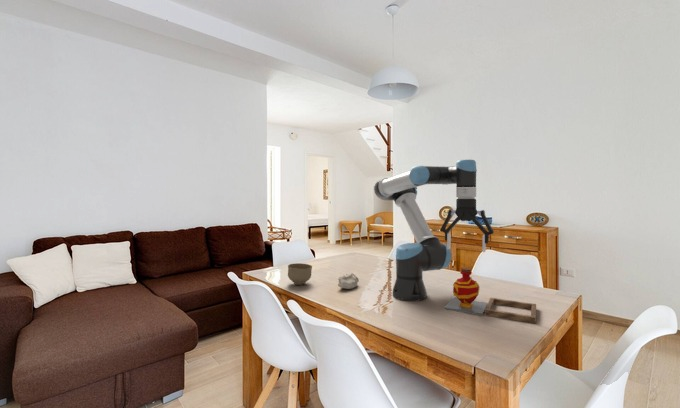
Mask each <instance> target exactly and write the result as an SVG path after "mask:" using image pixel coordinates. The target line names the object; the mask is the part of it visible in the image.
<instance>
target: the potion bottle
mask: <svg viewBox="0 0 680 408" xmlns="http://www.w3.org/2000/svg"><path fill="white" fill-rule="evenodd" d="M460 270H461V271H460V272H459V273H460V274H461V275H462V277H460V278H457V279H456V280H455V282H454V283H453V284H452V286H453V288H452V289H453V290H452V293H453V296H454V297H455V298H457V299H458V300H460V301H461V303H460V304H459V305H460V306H462V307H472V306H473V305H472V302H473V301H476V298H478V296H479V292H480V289H481V288H480V285H479V283H478V282H477V280H474V279H472V276H471V275H472V274H473V272H472V268H470V267H461V268H460Z"/></svg>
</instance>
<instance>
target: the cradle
mask: <svg viewBox="0 0 680 408" xmlns="http://www.w3.org/2000/svg"><path fill="white" fill-rule="evenodd" d="M487 303H488V304H487V306H486V308H485V311H484V315H485V316H490V317H494V318H500V319H506V320H513V321H517V322H518V321H519V322H523V323H524V322H525V323H531V324H536V321H537V320H536V319H537V304H536V303H531V302H524V301H519V300H518V301H517V300H510V299H504V298H496V297H489V301H488V302H487ZM494 305H500V306H506V307H513V308H518V309H526V310H530V315H528V314H522V313H517V312H511V311H509V312H508V311H503V310H496V309H493V308H494Z"/></svg>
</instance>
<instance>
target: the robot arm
mask: <svg viewBox="0 0 680 408" xmlns="http://www.w3.org/2000/svg"><path fill="white" fill-rule="evenodd" d="M455 184H456V186H455V187H456V191H455V192H456V193H455V195H456V198H457V199H456V205H455V206H456V208H455V210H454V209H449V210H448V211H447V216H446V218H445V219H444V222H443V223H442V225H441V228H440V232H441V233H442V232H443V233H444V241H446V243H447V244H445V243H444V242H443V243H442V242H441V241H440V238H439V237H437V236H435V235H434V234H433V232H432V229H431V228H430V227H429V224H428V223H427V220H426V218H425V216H424V215H423V213H422V211H421V208H420V207H419V205H418V203H417V201H416V200H417V195H418V190H417V189H418V187H421V186H425V185H455ZM373 190H374V194H375V196H376V197H377V198H379V199H380V200H383V201H394V204H395V205H396V207H398V208H400V210H401V212H402V214H403V216H404V219H405V221H406V222H407V225H408V226H409V229H410V231H411V234H412V235H413V237H414V240H415V241H416V242H408V243H403V244H400V245H398V246H397V248H396V250H395V269H396V270H395V271H396V275H395V276H396V278H395V282H394V285H393V288H392V296H393V298H395V299H398V300H401V301H408V302H414V301H415V302H417V301H422V300H425V299H427V294H428V292H427V289H426V286H425V283H424V279H423V272H429V271H441V270H443V269H447V268H448V267H449V265H451V261H452V251H451V248H452V243H451V242H452V240H451V239H452V238H451V237H452V236H451V235H452V233H451V230H452V229H453V228H454V227H455V226H456V225H457V224H458V223H459V221H461V222H465V221H466V222H471V221H472V223H474V224H475V225H476V227H477V228H478V229H479V230H480V231H481V232H482V233H483V235H482V253H486V251H487V248H486V247H487V244H489V241H490V240H489V239H490V238H489V237H490V235H493V234H494V229H493V228H492V226H491V224H490V221H489V219H488V218H487V216H486V211H485V209H481V210H477V199H476V197H477V162H476V160H474V159H460V160H459V159H458V160H456V164H455V165H453V166H432V165H431V166H428V165H427V166H426V165H417V166H413V167H411V169H410V171H406V172H404V173H401V174H398V175H395V176H393V177H390V178H388V177H384V178H381V179H379V180H378V181H376V183H375V184H374V188H373ZM454 215H456V218H455V219H454V220H453V221H452V222H451V223H450V224H449V222H450V221H451V218H452V217H453V216H454ZM477 215H479V217H480V218H481V219H482V222H483V223H484V226H483V224H481V222H480V221H479V220H478V218H477V217H476V216H477ZM448 224H449V226H448ZM447 226H448V227H447ZM485 227H486V228H485Z"/></svg>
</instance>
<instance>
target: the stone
mask: <svg viewBox="0 0 680 408" xmlns="http://www.w3.org/2000/svg"><path fill="white" fill-rule="evenodd" d="M359 282H360V281H359V278H358V277H357V276H356V274H354V273H353V272H351V273H348V274H345V275H342V276H339V277H338V284H337V286H338V287H339V288H341V289H345V290H346V289H347V290H350V289H351V290H352V289H354V288H355V287H357V286H358V283H359Z"/></svg>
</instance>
